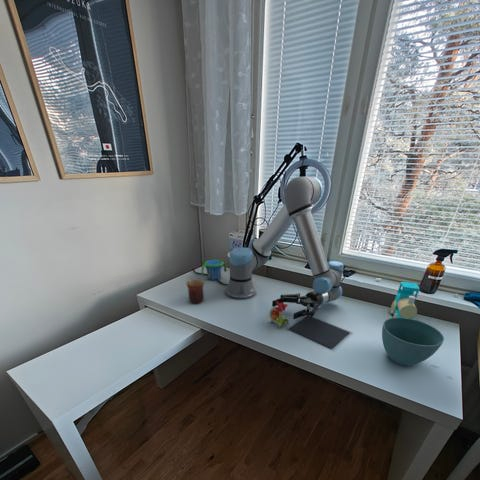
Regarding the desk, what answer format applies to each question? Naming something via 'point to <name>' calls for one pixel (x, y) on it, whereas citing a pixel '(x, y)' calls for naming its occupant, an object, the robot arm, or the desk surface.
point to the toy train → (405, 301)
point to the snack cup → (214, 269)
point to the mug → (195, 290)
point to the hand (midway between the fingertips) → (282, 309)
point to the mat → (319, 331)
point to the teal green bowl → (410, 340)
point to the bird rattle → (278, 314)
